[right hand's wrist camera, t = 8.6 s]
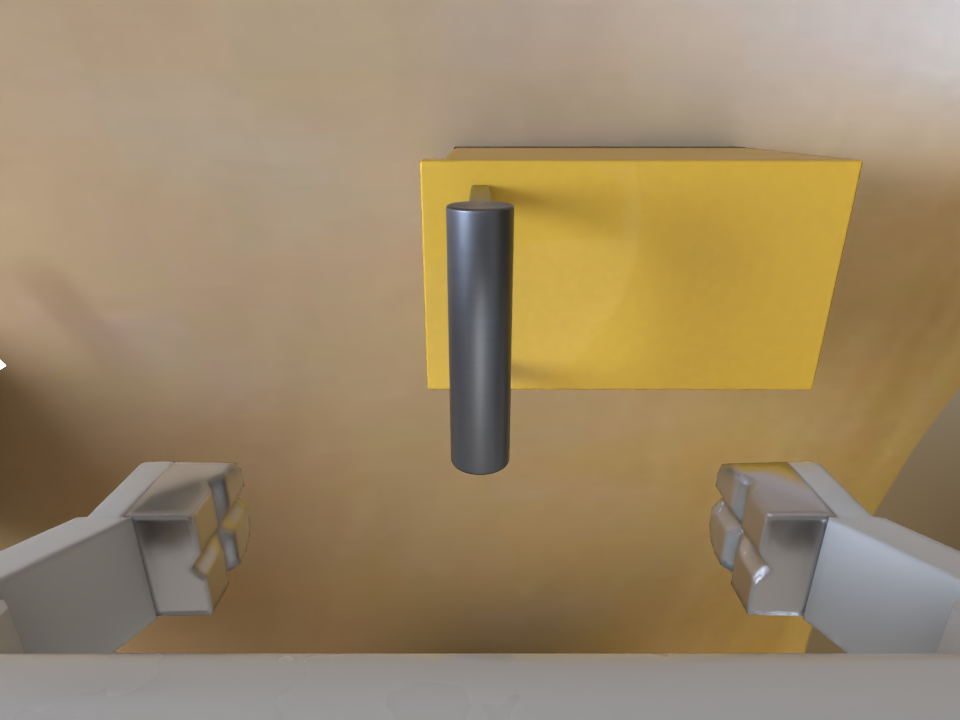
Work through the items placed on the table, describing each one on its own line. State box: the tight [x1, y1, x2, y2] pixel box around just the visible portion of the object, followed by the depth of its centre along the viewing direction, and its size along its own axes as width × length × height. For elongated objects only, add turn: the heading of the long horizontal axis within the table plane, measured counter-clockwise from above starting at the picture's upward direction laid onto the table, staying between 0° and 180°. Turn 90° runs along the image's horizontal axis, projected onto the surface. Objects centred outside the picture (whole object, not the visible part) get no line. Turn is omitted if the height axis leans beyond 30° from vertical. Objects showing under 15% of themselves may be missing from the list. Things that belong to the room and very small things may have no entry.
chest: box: [445, 147, 843, 159], centre depth 30 cm, size 15×9×11 cm, turn 90°
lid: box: [420, 159, 862, 475], centre depth 21 cm, size 16×9×9 cm, turn 90°
